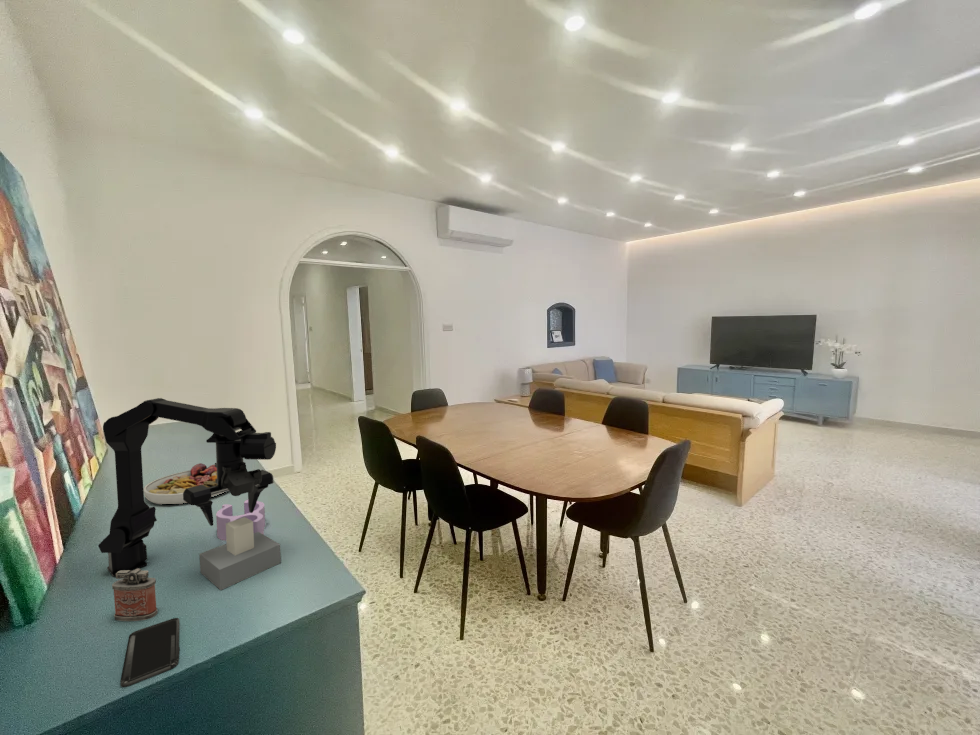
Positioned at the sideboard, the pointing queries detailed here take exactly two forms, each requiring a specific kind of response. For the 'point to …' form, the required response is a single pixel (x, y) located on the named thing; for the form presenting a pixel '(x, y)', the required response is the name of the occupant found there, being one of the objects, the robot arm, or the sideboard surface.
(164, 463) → the sideboard surface
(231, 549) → the block
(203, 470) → the bowl
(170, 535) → the sideboard surface
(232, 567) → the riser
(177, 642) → the phone
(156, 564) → the sideboard surface
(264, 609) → the sideboard surface
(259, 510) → the clip
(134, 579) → the lighter
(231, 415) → the robot arm
